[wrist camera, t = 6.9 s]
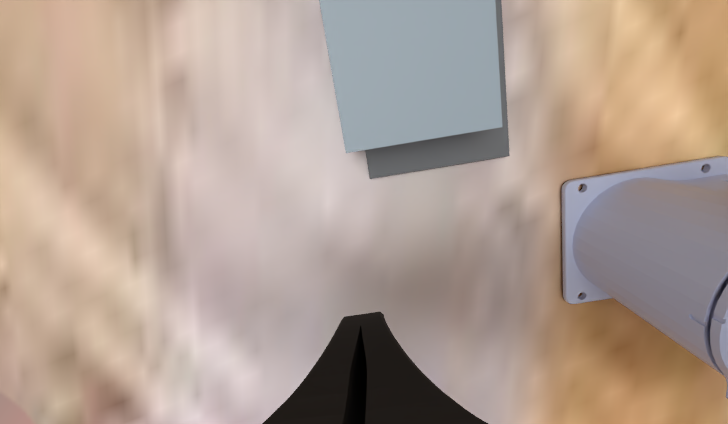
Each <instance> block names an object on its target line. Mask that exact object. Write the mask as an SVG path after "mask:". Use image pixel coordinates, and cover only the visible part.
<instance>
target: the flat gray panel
mask: <svg viewBox="0 0 728 424" xmlns="http://www.w3.org/2000/svg"><path fill="white" fill-rule="evenodd" d="M495 4H496V21H497V39H498V57H499V74H500V92H501V110H502V127H500V128H494V129H488V130H482V131H476V132H470V133H464V134H458V135H452V136H446V137H440V138H434V139H428V140H422V141H416V142H410V143H404V144H398V145H392V146H386V147H380V148H374V149H368V150H365V151H366V157H367V164H368V170H369V176H370V179H372V178H378V177H384V176H390V175H396V174H403V173H409V172H415V171H421V170H427V169H433V168H439V167H445V166H451V165H457V164H464V163H470V162H476V161H482V160H488V159H494V158H500V157H506V156H509V139H508V120H507V101H506V82H505V63H504V44H503V25H502V6H501V0H495Z"/></svg>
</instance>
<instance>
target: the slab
mask: <svg viewBox="0 0 728 424" xmlns="http://www.w3.org/2000/svg"><path fill="white" fill-rule="evenodd" d="M319 2H320V8H321V13H322V19H323V25H324V30H325V36H326V42H327V47H328V53H329V59H330V65H331V70H332V76H333V82H334V87H335V93H336V99H337V104H338V110H339V116H340V122H341V127H342V133H343V139H344V144H345V150H346V153H350V152H356V151H362V150H368V149H374V148H380V147H386V146H392V145H398V144H404V143H410V142H416V141H422V140H428V139H434V138H440V137H446V136H452V135H458V134H464V133H470V132H476V131H482V130H488V129H494V128H500V127H502V110H501V92H500V74H499V57H498V39H497V21H496V4H495V0H319Z"/></svg>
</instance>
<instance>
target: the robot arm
mask: <svg viewBox="0 0 728 424" xmlns="http://www.w3.org/2000/svg"><path fill="white" fill-rule="evenodd" d="M703 165H704V168H703V170H702V171H701V168H702V166H703ZM580 184H582V185H583V187H582V189H581V190H580V191H578V186H579V185H580ZM562 254H563V298H564V299H565V300H566V301H567V302H568V303H570V304H577V303H584V302H591V301H597V300H604V299H611V298H614V299H615V300H617V301H618V302H620V303H621V304H622V305H624V306H625V307H627V308H628V309H630V310H631V311H632V312H634V313H635V314H637V315H638V316H640V317H641V318H642V319H644V320H645V321H647V322H648V323H649V324H651V325H652V326H654V327H655V328H657V329H658V330H659V331H661V332H662V333H664V334H665V335H667V336H668V337H669V338H671V339H672V340H674V341H675V342H676V343H678V344H679V345H681V346H682V347H684V348H685V349H686V350H688V351H689V352H691V353H692V354H694V355H695V356H696V357H698V358H699V359H701V360H702V361H704V362H705V363H706V364H708V365H709V366H711V367H712V368H713V369H715V370H716V371H718V372H719V373H721V374H722V375H723V376H725V378H726V381H727V392H726V398H728V157H724V156H716V157H710V158H704V159H698V160H691V161H685V162H679V163H673V164H667V165H660V166H654V167H648V168H642V169H636V170H629V171H623V172H617V173H611V174H604V175H598V176H592V177H586V178H580V179H573V180H569V181H566V182H565V183H564V184H563V186H562ZM582 292H583V293H582ZM580 293H582V295H581V296H579V297H578V295H579V294H580ZM263 424H488V423H486V422H484V421H482V420H481V419H479V418H477V417H476V416H474V415H473V414H471V413H470V412H468V411H467V410H465V409H464V408H463V407H462V406H460V405H459V404H458V403H456V402H455V401H454V400H453V399H451V398H450V397H449V396H447V395H446V394H445V393H444V392H442V391H441V390H440V389H439V388H438V387H437V386H436V385H435V384H434V383H432V382H431V381H430V380H429V379H428V378H427V377H426V376H425V375H424V374H423V373H422V372H421V371H420V370H419V368H418V367H417V366H416V365H415V364H414V363H413V362H412V360H411V359H410V358H409V357H408V356H407V354H406V353H405V352H404V350H403V349H402V348H401V346H400V345H399V343H398V342H397V340H396V339H395V338H394V336H393V334H392V333H391V331H390V329H389V327H388V325H387V323H386V321H385V318H384V314H382V313H381V312H375V313H368V314H361V315H354V316H347V317H344V318H343V319H342V320H341V322H340V324H339V326H338V328H337V330H336V332H335V334H334V336H333V337H332V339H331V341H330V342H329V344H328V346H327V347H326V349H325V351H324V352H323V354H322V355H321V357H320V358H319V360H318V361H317V363H316V364H315V366H314V367H313V368H312V370H311V371H310V373H309V374H308V375H307V377H306V378H305V379H304V381H303V382H302V383H301V384H300V386H299V387H298V388H297V389H296V390H295V391H294V393H293V394H292V395H291V396H290V397H289V398H288V399H287V400H286V401H285V402H284V403H283V404H282V405H281V406H280V407H279V408H278V409H277V410H276V411H275V412H274V413H273V414H272V415H271V416H270V417H269V418H268V419H267V420H266V421H265V422H264V423H263Z"/></svg>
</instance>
